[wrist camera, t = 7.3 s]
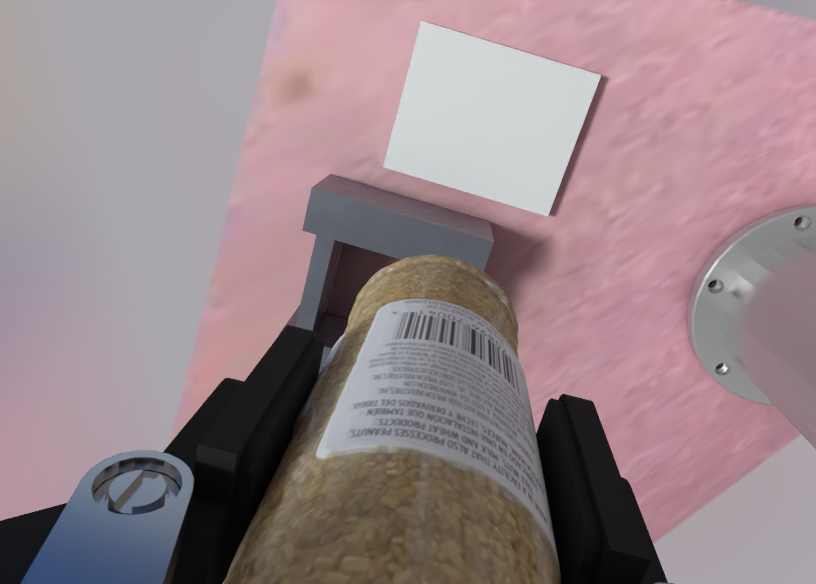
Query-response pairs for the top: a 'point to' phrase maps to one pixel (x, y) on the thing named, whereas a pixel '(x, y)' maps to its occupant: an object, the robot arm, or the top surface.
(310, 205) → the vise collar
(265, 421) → the robot arm
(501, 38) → the top surface
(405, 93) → the rubber pad
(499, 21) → the top surface
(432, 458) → the sprinkles bottle
